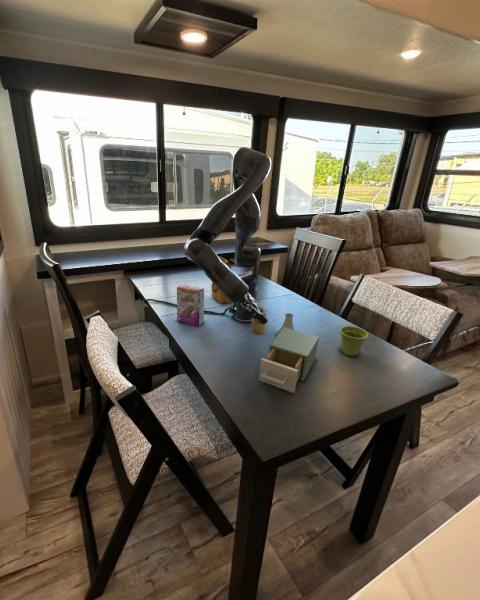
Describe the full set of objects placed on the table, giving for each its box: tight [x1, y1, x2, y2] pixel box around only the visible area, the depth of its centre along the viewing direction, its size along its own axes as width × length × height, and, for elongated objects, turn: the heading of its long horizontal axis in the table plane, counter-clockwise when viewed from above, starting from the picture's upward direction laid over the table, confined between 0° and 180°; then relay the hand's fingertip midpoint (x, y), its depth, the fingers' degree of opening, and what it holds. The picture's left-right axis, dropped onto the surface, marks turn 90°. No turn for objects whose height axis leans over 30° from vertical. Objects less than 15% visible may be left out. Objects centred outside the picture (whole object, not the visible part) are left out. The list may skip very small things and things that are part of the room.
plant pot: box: [339, 325, 369, 357], centre depth 116 cm, size 9×9×9 cm
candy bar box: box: [176, 283, 205, 327], centre depth 135 cm, size 11×5×16 cm, turn 65°
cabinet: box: [268, 327, 320, 382], centre depth 108 cm, size 15×13×10 cm
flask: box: [276, 312, 295, 336], centre depth 126 cm, size 7×7×10 cm
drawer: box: [258, 348, 305, 394], centre depth 99 cm, size 18×11×8 cm, turn 148°
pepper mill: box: [250, 306, 267, 336], centre depth 107 cm, size 5×5×9 cm
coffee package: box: [210, 255, 232, 305], centre depth 158 cm, size 10×12×22 cm
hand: (264, 318), depth 107 cm, fingers closed on pepper mill, 4 cm apart
